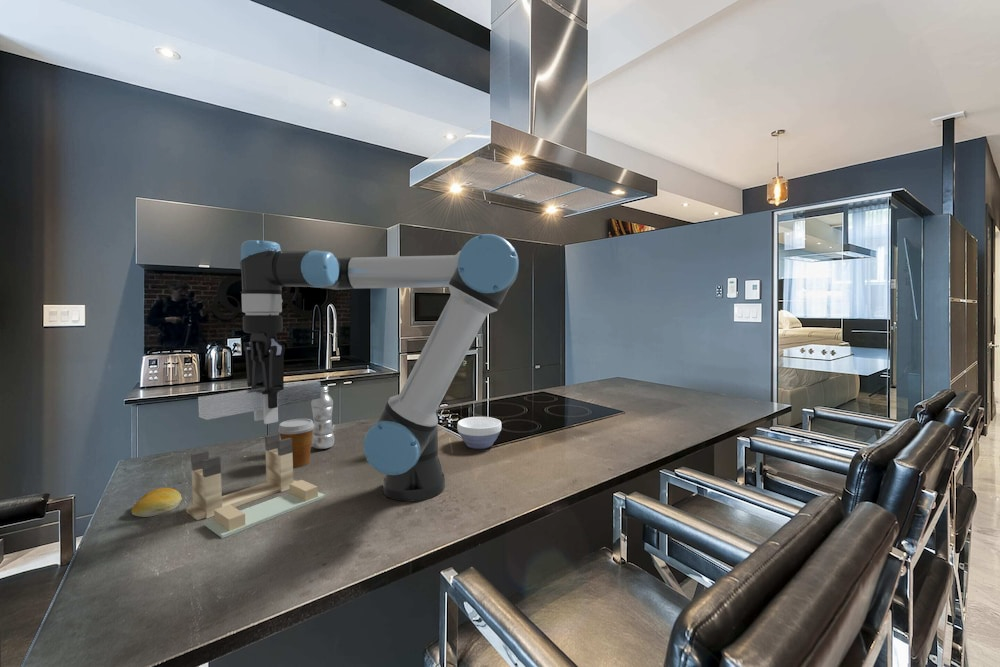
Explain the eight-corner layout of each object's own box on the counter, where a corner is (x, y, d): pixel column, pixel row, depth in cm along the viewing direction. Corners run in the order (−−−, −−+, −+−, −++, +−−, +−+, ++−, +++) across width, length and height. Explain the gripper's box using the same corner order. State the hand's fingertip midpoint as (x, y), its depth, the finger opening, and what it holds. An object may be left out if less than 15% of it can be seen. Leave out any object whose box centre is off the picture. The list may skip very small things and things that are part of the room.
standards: (299, 485, 107) (297, 437, 107) (198, 521, 90) (196, 463, 89) (284, 478, 112) (282, 432, 111) (185, 511, 94) (182, 456, 93)
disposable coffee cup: (301, 470, 117) (300, 428, 116) (271, 468, 119) (269, 426, 118) (322, 458, 126) (321, 419, 126) (294, 456, 128) (292, 417, 128)
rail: (320, 398, 102) (320, 381, 101) (206, 419, 82) (205, 399, 82) (312, 396, 104) (312, 380, 103) (198, 417, 84) (198, 397, 84)
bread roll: (126, 521, 90) (125, 503, 90) (144, 503, 98) (143, 486, 98) (173, 515, 93) (172, 497, 92) (187, 497, 101) (186, 481, 101)
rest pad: (325, 497, 101) (324, 485, 101) (222, 538, 83) (221, 523, 83) (306, 488, 106) (306, 477, 105) (205, 526, 88) (204, 511, 87)
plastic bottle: (339, 447, 137) (337, 385, 136) (320, 453, 131) (318, 389, 130) (326, 443, 141) (325, 383, 139) (307, 449, 135) (306, 387, 134)
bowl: (476, 435, 150) (476, 414, 149) (510, 443, 141) (510, 420, 141) (448, 446, 138) (447, 423, 137) (483, 455, 129) (483, 431, 129)
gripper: (300, 314, 90) (303, 423, 91) (261, 313, 99) (265, 412, 101) (263, 314, 84) (267, 431, 85) (226, 313, 93) (230, 418, 95)
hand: (266, 420), depth 93 cm, fingers closed on rail, 3 cm apart
